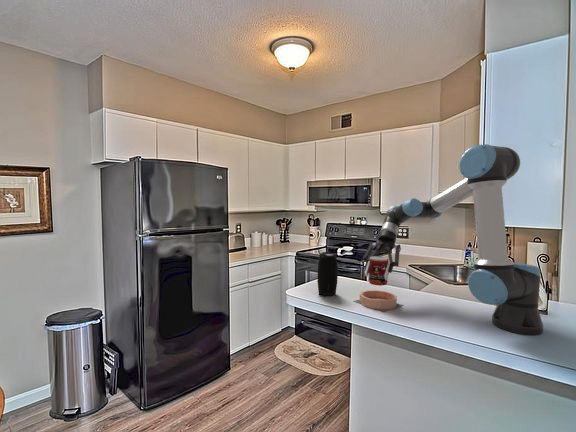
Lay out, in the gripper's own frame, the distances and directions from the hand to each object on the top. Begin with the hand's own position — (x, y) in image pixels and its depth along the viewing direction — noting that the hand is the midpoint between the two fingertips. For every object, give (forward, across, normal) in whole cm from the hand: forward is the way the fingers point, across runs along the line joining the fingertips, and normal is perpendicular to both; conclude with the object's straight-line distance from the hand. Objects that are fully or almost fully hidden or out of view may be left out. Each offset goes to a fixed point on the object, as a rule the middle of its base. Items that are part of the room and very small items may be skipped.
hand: (375, 276), depth 137 cm
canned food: (0, 0, -5) cm, 5 cm away
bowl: (+6, 0, -11) cm, 13 cm away
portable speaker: (+8, +23, -11) cm, 27 cm away
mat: (+7, 0, -11) cm, 13 cm away
